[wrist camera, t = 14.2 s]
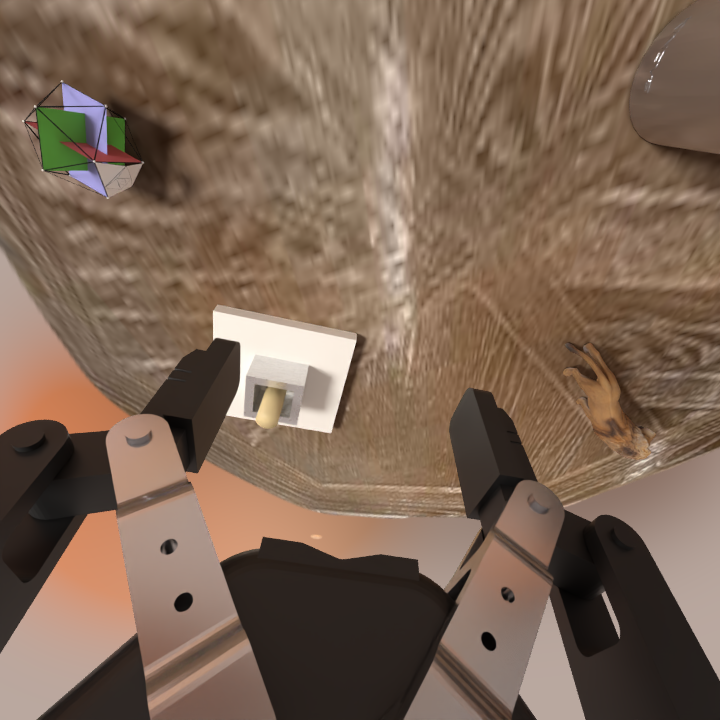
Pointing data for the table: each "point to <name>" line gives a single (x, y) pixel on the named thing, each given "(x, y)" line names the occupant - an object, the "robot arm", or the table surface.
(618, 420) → the lion figurine
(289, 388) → the steel collar
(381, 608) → the robot arm
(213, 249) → the table surface
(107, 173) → the geometric puzzle
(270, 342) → the post board
